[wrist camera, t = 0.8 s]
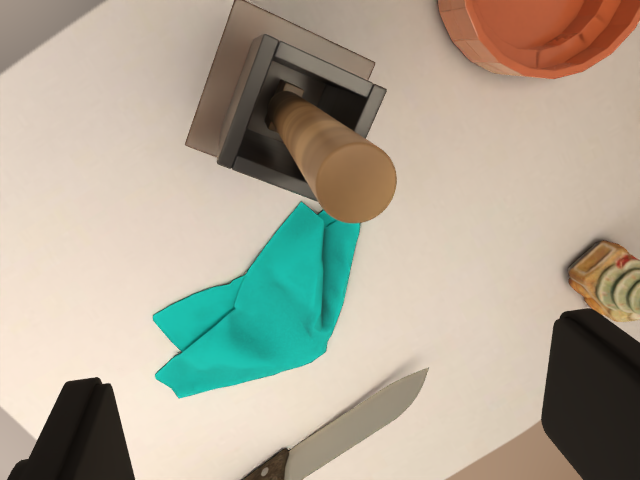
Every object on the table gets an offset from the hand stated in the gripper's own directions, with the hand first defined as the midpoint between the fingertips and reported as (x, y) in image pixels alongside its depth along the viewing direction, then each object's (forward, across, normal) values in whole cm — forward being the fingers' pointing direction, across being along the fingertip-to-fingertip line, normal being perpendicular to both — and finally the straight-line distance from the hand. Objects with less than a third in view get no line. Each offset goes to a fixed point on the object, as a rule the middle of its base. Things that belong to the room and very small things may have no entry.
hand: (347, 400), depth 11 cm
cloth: (+34, 0, +16) cm, 37 cm away
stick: (+20, -1, -4) cm, 20 cm away
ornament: (+34, -33, +17) cm, 50 cm away
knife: (+34, -2, +32) cm, 46 cm away
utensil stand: (+34, -1, -4) cm, 34 cm away
